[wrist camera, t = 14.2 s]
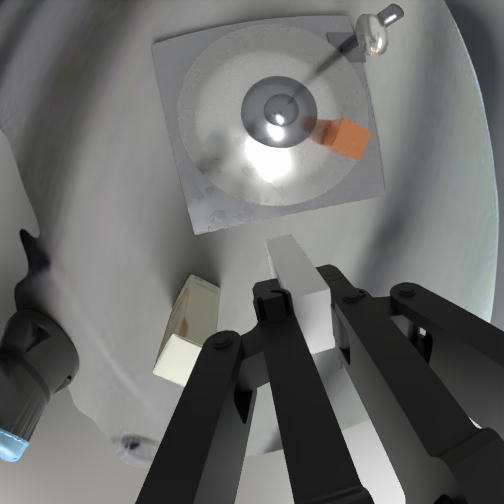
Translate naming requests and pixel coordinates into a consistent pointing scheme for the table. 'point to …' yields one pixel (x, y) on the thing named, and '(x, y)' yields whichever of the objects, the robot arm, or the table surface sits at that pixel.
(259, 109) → the cover
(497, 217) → the table surface
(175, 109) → the turntable base
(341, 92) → the platter
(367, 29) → the post
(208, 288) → the skincare box
